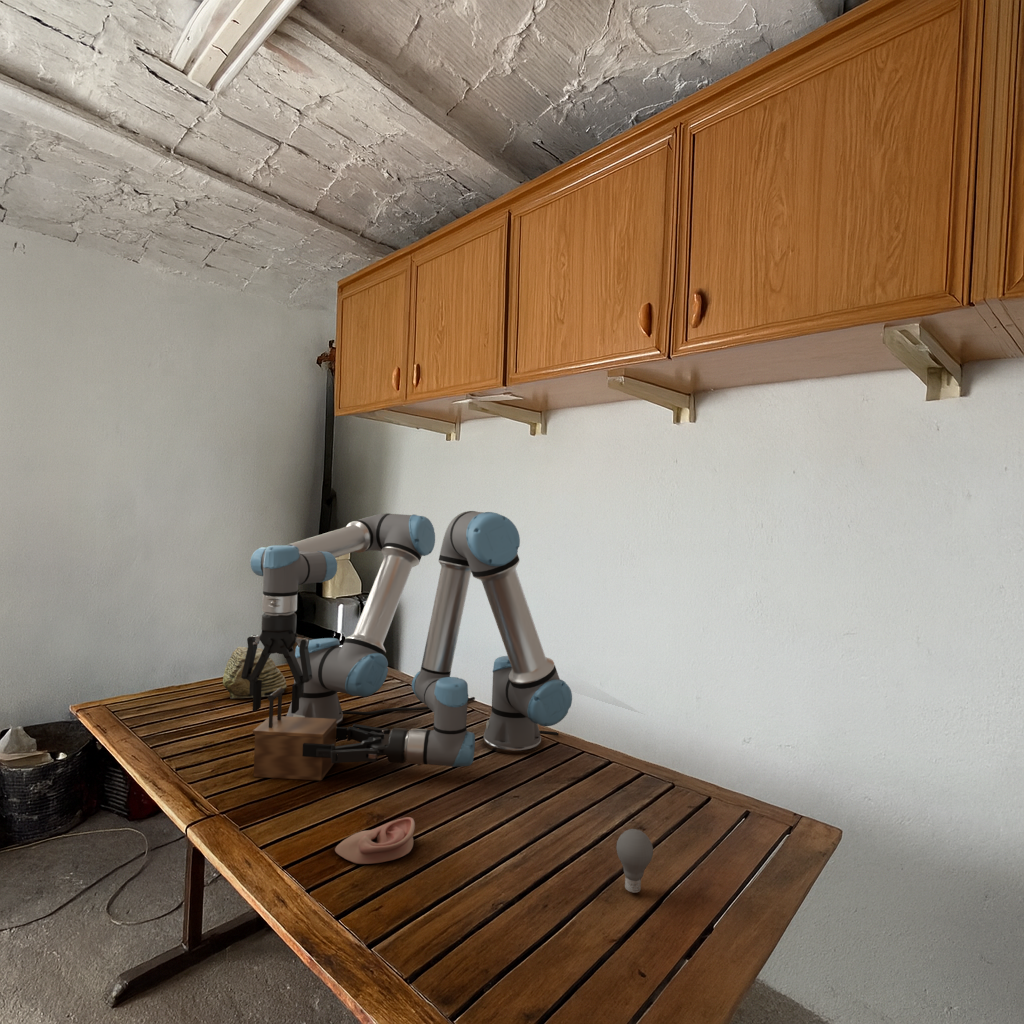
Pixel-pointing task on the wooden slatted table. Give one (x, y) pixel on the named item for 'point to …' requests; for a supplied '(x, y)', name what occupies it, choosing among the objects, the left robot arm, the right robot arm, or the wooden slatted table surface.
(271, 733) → the lid
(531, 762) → the wooden slatted table surface
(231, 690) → the fossil
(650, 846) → the light bulb
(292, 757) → the chest
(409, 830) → the anatomical model
